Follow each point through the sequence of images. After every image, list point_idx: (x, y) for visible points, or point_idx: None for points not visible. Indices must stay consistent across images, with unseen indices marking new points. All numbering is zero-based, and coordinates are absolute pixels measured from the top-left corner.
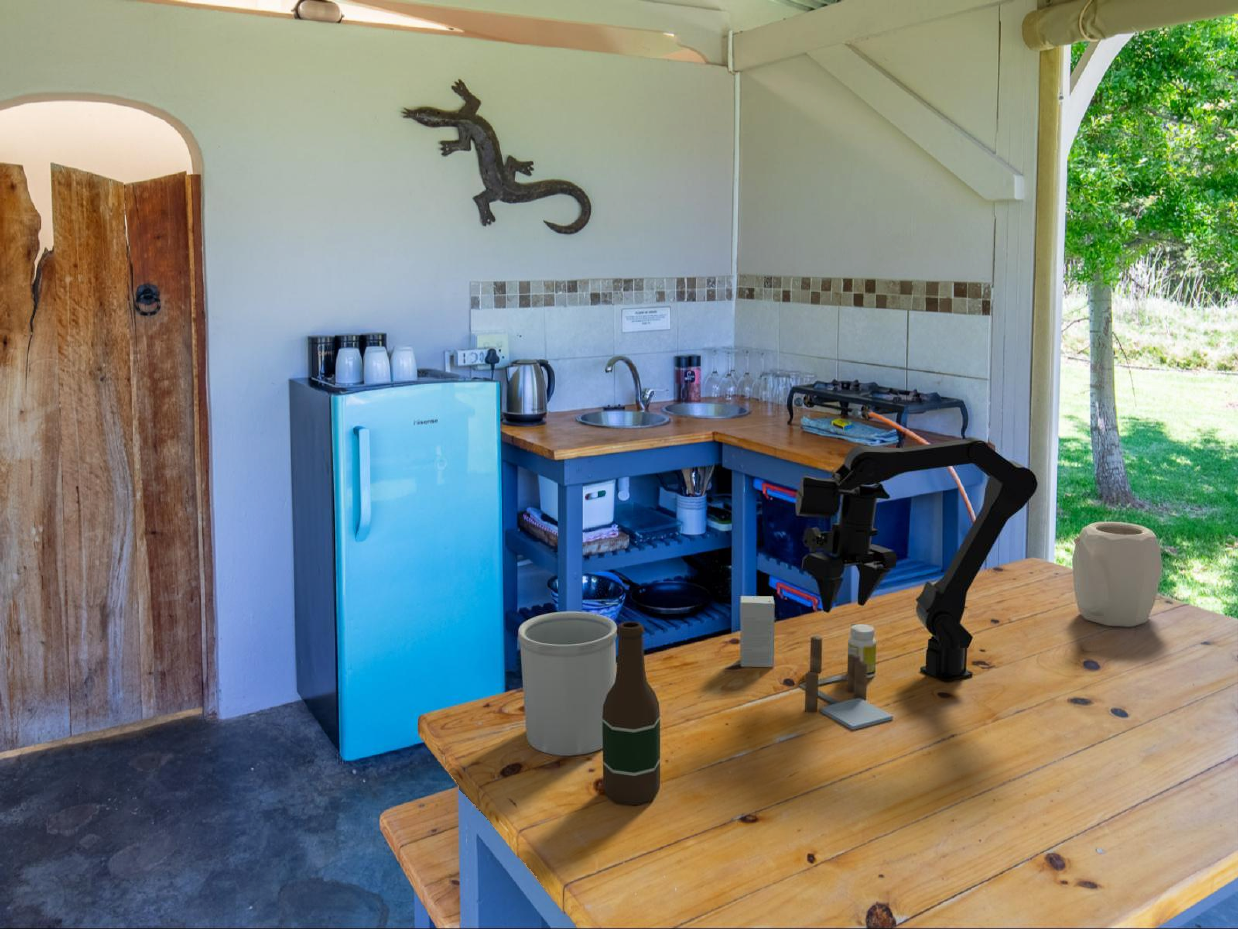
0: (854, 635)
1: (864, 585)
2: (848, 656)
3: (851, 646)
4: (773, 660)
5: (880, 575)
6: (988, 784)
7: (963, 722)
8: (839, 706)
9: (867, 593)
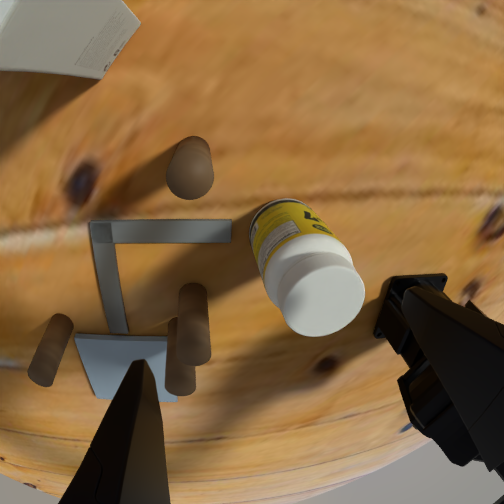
0: (278, 301)
1: (467, 368)
2: (179, 348)
3: (262, 274)
4: (94, 78)
5: (482, 455)
6: (173, 480)
7: (263, 424)
8: (110, 350)
9: (436, 364)
